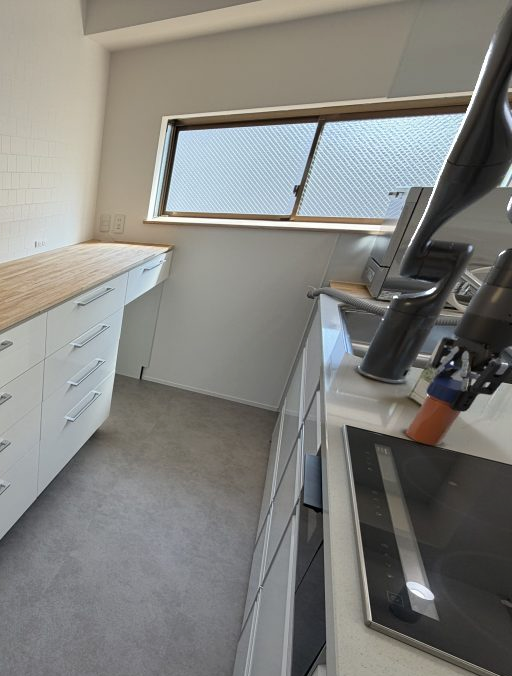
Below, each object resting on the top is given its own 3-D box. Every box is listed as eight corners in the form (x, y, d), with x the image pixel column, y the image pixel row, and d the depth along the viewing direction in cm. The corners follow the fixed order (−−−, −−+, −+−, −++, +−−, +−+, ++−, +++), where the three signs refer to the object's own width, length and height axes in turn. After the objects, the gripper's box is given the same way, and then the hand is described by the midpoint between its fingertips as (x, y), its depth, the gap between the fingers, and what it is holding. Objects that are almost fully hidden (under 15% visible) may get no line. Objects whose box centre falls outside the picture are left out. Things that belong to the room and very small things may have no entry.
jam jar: (399, 429, 82) (427, 381, 77) (425, 431, 82) (455, 383, 77) (419, 444, 78) (451, 394, 73) (447, 446, 77) (481, 396, 72)
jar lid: (445, 389, 78) (453, 377, 77) (480, 405, 73) (489, 392, 72) (417, 389, 78) (424, 377, 77) (450, 405, 73) (458, 392, 71)
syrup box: (454, 412, 90) (493, 350, 83) (423, 408, 91) (459, 347, 84) (435, 400, 95) (470, 341, 88) (406, 396, 96) (438, 338, 89)
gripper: (443, 300, 75) (400, 382, 83) (501, 322, 63) (445, 416, 71) (495, 305, 74) (446, 388, 81) (565, 329, 61) (500, 425, 69)
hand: (445, 401), depth 76 cm, fingers closed on jar lid, 6 cm apart
